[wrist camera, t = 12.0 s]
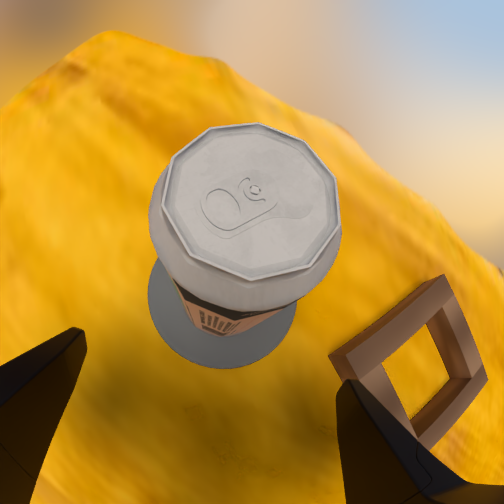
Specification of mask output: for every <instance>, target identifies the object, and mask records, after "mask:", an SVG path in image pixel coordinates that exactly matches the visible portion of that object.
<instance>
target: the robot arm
mask: <svg viewBox="0 0 504 504" xmlns="http://www.w3.org/2000/svg"><path fill="white" fill-rule="evenodd" d="M86 353H87V343H86V337H85V332H84V330H82V329H79V328H76V327H71V328H69V329H68V330H66V331H64V332H62V333H60V334H58V335H56V336H55V337H53V338H51V339H49V340H47V341H45V342H43V343H42V344H40V345H38V346H36V347H34V348H32V349H31V350H29V351H27V352H25V353H23V354H21V355H20V356H18V357H16V358H14V359H12V360H11V361H9V362H7V363H5V364H3V365H1V366H0V504H30V500H31V497H32V494H33V491H34V488H35V485H36V481H37V478H38V475H39V473H40V470H41V467H42V464H43V462H44V459H45V456H46V454H47V451H48V448H49V446H50V443H51V441H52V438H53V436H54V433H55V431H56V429H57V426H58V424H59V422H60V419H61V417H62V415H63V412H64V410H65V408H66V406H67V403H68V401H69V399H70V397H71V395H72V392H73V390H74V388H75V385H76V382H77V379H78V376H79V373H80V370H81V367H82V364H83V362H84V359H85V356H86ZM336 416H337V436H338V444H339V451H340V458H341V465H342V473H343V481H344V489H345V498H346V504H504V485H486V484H475V483H470V482H467V481H465V480H463V479H462V478H461V477H459V476H458V475H457V474H455V473H454V472H453V471H452V470H450V469H449V468H448V467H447V466H446V465H444V464H443V463H442V462H441V461H439V460H438V459H437V458H436V457H435V456H434V455H433V454H431V453H430V452H429V451H428V450H427V449H426V448H425V447H424V446H423V445H422V444H421V443H420V442H419V441H417V439H416V438H415V437H414V436H413V435H412V434H411V433H410V432H409V431H408V430H407V429H406V428H405V427H404V426H403V425H402V424H401V423H400V422H399V421H398V420H397V419H396V418H395V417H394V416H393V415H392V414H391V413H390V412H389V411H388V410H387V409H386V408H385V407H384V406H383V404H382V403H381V402H380V401H379V400H378V399H377V398H376V397H375V396H374V395H373V394H372V393H371V392H370V391H369V390H368V389H367V388H366V387H365V386H364V385H363V384H362V383H361V382H360V381H359V380H358V379H350V378H348V379H346V380H345V381H344V383H343V384H342V386H341V387H340V389H339V391H338V392H337V394H336Z"/></svg>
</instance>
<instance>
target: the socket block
mask: <svg viewBox="0 0 504 504" xmlns="http://www.w3.org/2000/svg"><path fill="white" fill-rule="evenodd" d="M425 323H426V325H427V327H428V329H429V331H430V333H431V335H432V337H433V339H434V342H435V344H436V346H437V348H438V350H439V353H440V355H441V357H442V360H443V362H444V364H445V367H446V369H447V371H448V374H449V376H450V380H449V381H448V382H447V383H446V384H445V385H444V387H443V388H442V389H441V390H440V391H439V392H438V393H437V394H436V395H435V396H434V397H433V398H432V399H431V400H430V402H429V403H428V404H427V405H426V406H425V407H424V408H423V409H422V410H421V411H420V412H419V413H418V414H417V415H415V416H414V417H413V418H412V419H411V420H410V421H409V419H408V417H407V414H406V412H405V410H404V408H403V406H402V404H401V402H400V400H399V398H398V396H397V394H396V392H395V390H394V388H393V386H392V384H391V382H390V380H389V378H388V376H387V374H386V372H385V370H384V368H383V366H382V364H381V362H383V361H384V360H385V359H386V358H387V357H389V356H390V355H391V354H392V353H393V352H395V351H396V350H397V349H398V348H399V347H400V346H401V345H403V344H404V343H405V342H406V341H407V340H408V339H409V338H410V337H411V336H413V335H414V334H415V333H416V332H417V331H418V330H419V329H420V328H421V327H422V326H423V325H424V324H425ZM328 357H329V358H330V360H331V362H332V364H333V366H334V367H335V369H336V371H337V373H338V375H339V376H340V378H341V380H342V382H343V383H344V381H345V380H346V379H348V378H350V379H358V380H359V381H360V382H361V383H362V384H363V385H364V386H365V387H366V388H367V389H368V390H369V391H370V392H371V393H372V394H373V395H374V396H375V397H376V398H377V399H378V400H379V401H380V402H381V403H382V404H383V406H384V407H385V408H386V409H387V410H388V411H389V412H390V413H391V414H392V415H393V416H394V417H395V418H396V419H397V420H398V421H399V422H400V423H401V424H402V425H403V426H404V427H405V428H406V429H407V430H408V431H409V432H410V433H411V434H412V435H413V436H414V437H415V438H416V439H417V441H419V442H420V443H421V444H422V445H423V446H424V447H425V448H426V449H427V450H428V451H429V450H430V449H431V448H432V447H433V446H434V445H435V444H436V443H437V442H438V441H439V440H440V439H441V438H442V437H443V436H444V435H445V433H446V432H447V431H448V430H449V429H450V428H451V427H452V426H453V424H454V423H455V422H456V421H457V420H458V419H459V417H460V416H461V415H462V414H463V413H464V411H465V410H466V409H467V408H468V406H469V405H470V404H471V403H472V401H473V400H474V399H475V397H476V396H477V395H478V393H479V392H480V391H481V389H482V388H483V386H484V385H485V384H486V382H487V381H488V378H487V375H486V372H485V369H484V366H483V363H482V360H481V357H480V354H479V352H478V349H477V346H476V344H475V341H474V339H473V336H472V334H471V331H470V329H469V326H468V324H467V322H466V319H465V317H464V315H463V312H462V310H461V308H460V306H459V304H458V301H457V299H456V297H455V295H454V293H453V291H452V289H451V287H450V285H449V283H448V281H447V279H446V277H445V275H444V274H442V275H440V276H438V277H436V278H433V279H431V280H429V281H426V282H424V283H423V284H421V285H420V286H419V287H418V288H417V289H416V290H414V291H413V292H412V293H411V294H410V295H409V296H407V297H406V298H405V299H404V300H403V301H401V302H400V303H399V304H398V305H396V306H395V307H394V308H393V309H391V310H390V311H389V312H388V313H386V314H385V315H384V316H383V317H381V318H380V319H379V320H377V321H376V322H375V323H373V324H372V325H371V326H369V327H368V328H367V329H365V330H364V331H363V332H361V333H360V334H359V335H357V336H356V337H354V338H353V339H352V340H350V341H349V342H347V343H346V344H345V345H343V346H342V347H340V348H339V349H337V350H336V351H334V352H333V353H332V354H330V355H329V356H328Z"/></svg>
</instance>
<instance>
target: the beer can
mask: <svg viewBox="0 0 504 504" xmlns="http://www.w3.org/2000/svg"><path fill="white" fill-rule="evenodd" d="M148 216H149V231H150V237H151V239H152V242H153V245H154V247H155V250H156V252H157V255H158V257H159V259H160V260H161V262H162V263H163V265H164V266H165V269H166V271H167V273H168V275H169V278H170V280H171V282H172V284H173V286H174V288H175V291H176V293H177V295H178V297H179V299H180V301H181V303H182V306H183V309H184V311H185V313H186V315H187V317H188V318H189V319H190V321H191V322H192V324H193V325H194V326H195V327H196V328H198V329H199V330H201V331H203V332H204V333H207V334H210V335H213V336H217V337H230V336H234V335H238V334H240V333H242V332H244V331H246V330H248V329H250V328H252V327H253V326H255V325H257V324H259V323H260V322H262V321H264V320H265V319H267V318H269V317H270V316H272V315H274V314H276V313H277V312H279V311H281V310H282V309H284V308H286V307H287V306H289V305H291V304H292V303H294V302H295V301H297V300H299V299H300V298H302V297H304V296H305V295H306V294H307V293H309V292H310V291H311V290H312V289H313V288H314V287H315V286H316V285H318V284H319V283H320V282H321V281H322V280H323V278H324V277H325V276H326V274H327V273H328V271H329V270H330V268H331V267H332V265H333V263H334V261H335V258H336V256H337V254H338V250H339V246H340V241H341V235H342V230H341V219H340V206H339V199H338V190H337V181H336V177H335V176H334V175H333V174H332V172H331V171H330V170H329V169H328V167H327V166H326V165H325V164H324V162H323V161H322V160H321V159H320V158H319V157H318V155H317V154H316V153H315V152H314V151H313V149H312V148H311V147H310V146H309V145H308V144H307V142H306V141H304V140H302V139H300V138H297V137H295V136H292V135H290V134H287V133H285V132H282V131H280V130H277V129H275V128H272V127H270V126H267V125H264V124H262V123H259V122H258V123H246V124H236V125H227V126H218V127H210V128H208V129H207V130H206V131H204V132H203V133H202V134H200V135H199V136H198V137H196V138H195V139H194V140H193V141H191V142H190V143H189V144H187V145H186V146H185V147H184V148H182V149H181V150H180V151H179V152H177V153H176V154H175V155H174V156H172V158H171V162H170V163H169V165H168V166H167V167H166V168H165V170H164V171H163V172H162V173H161V175H160V177H159V179H158V181H157V183H156V185H155V187H154V190H153V194H152V198H151V202H150V206H149V214H148Z"/></svg>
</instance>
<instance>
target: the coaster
mask: <svg viewBox="0 0 504 504" xmlns="http://www.w3.org/2000/svg"><path fill="white" fill-rule="evenodd" d="M296 303H297V301H295V302H294V303H292V304H291V305H289V306H287V307H286V308H284V309H282V310H281V311H279V312H277V313H276V314H274V315H272V316H270V317H269V318H267V319H265V320H264V321H262V322H260V323H259V324H257V325H255V326H253V327H252V328H250V329H248V330H246V331H244V332H242V333H240V334H238V335H234V336H230V337H217V336H213V335H210V334H207V333H204V332H203V331H201V330H199V329H198V328H196V327H195V326H194V325H193V324H192V322H191V321H190V319H189V318H188V317H187V315H186V313H185V311H184V309H183V306H182V303H181V301H180V299H179V297H178V295H177V293H176V291H175V288H174V286H173V284H172V282H171V280H170V278H169V275H168V273H167V271H166V269H165V266H164V265H163V263H162V262H161V260H160V259H159V257H158V259H157V260H156V262H155V264H154V267H153V269H152V272H151V275H150V279H149V285H148V304H149V309H150V313H151V317H152V320H153V322H154V325H155V327H156V329H157V330H158V332H159V334H160V335H161V337H162V338H163V339H164V341H165V342H166V343H167V344H168V345H169V346H170V347H171V348H172V349H173V350H174V351H175V352H177V353H178V354H179V355H181V356H182V357H184V358H186V359H187V360H189V361H191V362H194V363H196V364H199V365H202V366H206V367H210V368H219V369H229V368H237V367H242V366H245V365H248V364H251V363H253V362H256V361H258V360H260V359H261V358H263V357H265V356H266V355H268V354H269V353H270V352H271V351H272V350H274V349H275V348H276V347H277V346H278V344H279V343H280V342H281V341H282V340H283V338H284V337H285V335H286V334H287V332H288V330H289V328H290V326H291V324H292V321H293V318H294V315H295V310H296Z"/></svg>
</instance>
